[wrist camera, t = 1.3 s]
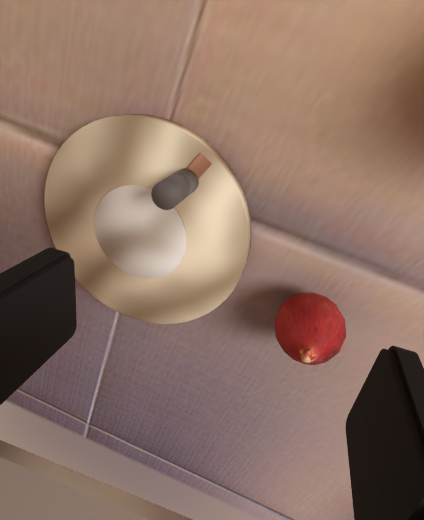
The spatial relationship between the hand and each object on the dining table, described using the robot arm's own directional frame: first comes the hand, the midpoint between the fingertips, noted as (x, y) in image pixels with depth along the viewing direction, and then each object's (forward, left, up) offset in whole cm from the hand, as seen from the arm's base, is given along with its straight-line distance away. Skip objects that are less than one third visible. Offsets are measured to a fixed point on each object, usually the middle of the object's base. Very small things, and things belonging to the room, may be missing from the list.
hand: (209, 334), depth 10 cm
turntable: (-5, -12, -21) cm, 24 cm away
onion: (+11, -6, -21) cm, 24 cm away
